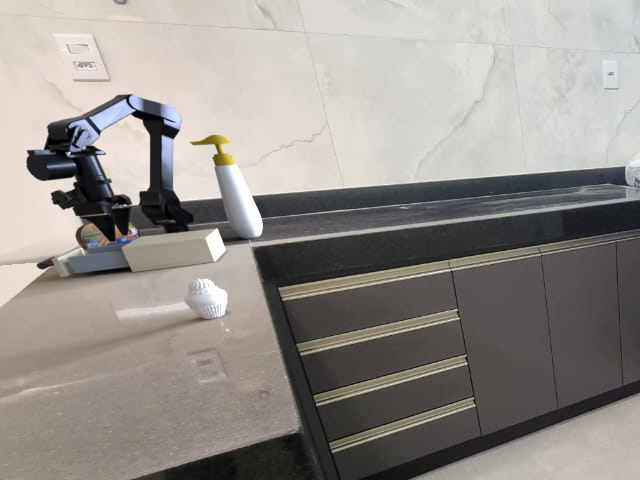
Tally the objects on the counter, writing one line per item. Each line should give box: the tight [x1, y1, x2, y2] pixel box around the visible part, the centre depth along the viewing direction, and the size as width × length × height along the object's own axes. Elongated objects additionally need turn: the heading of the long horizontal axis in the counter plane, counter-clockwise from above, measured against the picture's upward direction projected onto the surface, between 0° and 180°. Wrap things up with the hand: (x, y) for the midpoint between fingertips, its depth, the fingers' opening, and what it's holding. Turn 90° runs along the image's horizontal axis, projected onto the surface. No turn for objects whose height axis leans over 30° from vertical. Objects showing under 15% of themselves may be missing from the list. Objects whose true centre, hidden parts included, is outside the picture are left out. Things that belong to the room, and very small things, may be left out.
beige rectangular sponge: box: [121, 228, 226, 273], centre depth 136 cm, size 17×15×6 cm
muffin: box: [183, 278, 228, 320], centre depth 94 cm, size 6×6×7 cm
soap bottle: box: [189, 134, 263, 240], centre depth 155 cm, size 13×10×29 cm
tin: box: [74, 220, 142, 252], centre depth 151 cm, size 15×3×8 cm, turn 168°
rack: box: [36, 243, 130, 278], centre depth 130 cm, size 20×13×4 cm
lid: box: [107, 238, 136, 245], centre depth 140 cm, size 5×6×6 cm
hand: (119, 238), depth 139 cm, fingers open, 9 cm apart
